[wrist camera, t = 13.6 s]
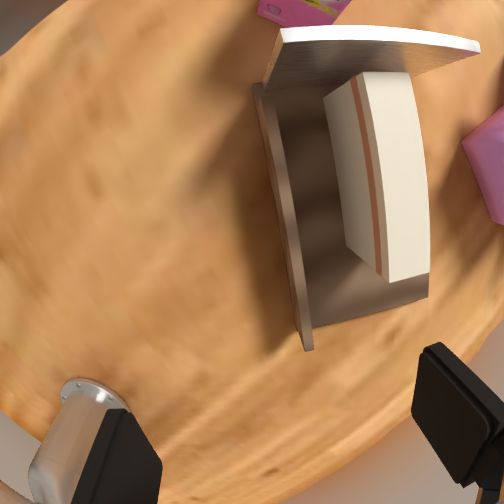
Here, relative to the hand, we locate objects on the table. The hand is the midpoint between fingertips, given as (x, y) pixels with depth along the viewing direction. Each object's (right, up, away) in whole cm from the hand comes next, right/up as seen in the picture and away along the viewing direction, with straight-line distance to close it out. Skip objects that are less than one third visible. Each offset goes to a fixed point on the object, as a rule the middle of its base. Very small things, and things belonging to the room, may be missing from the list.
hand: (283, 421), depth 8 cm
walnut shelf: (+11, +11, +25) cm, 29 cm away
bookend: (+8, +23, +20) cm, 31 cm away
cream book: (+10, +14, +22) cm, 28 cm away
